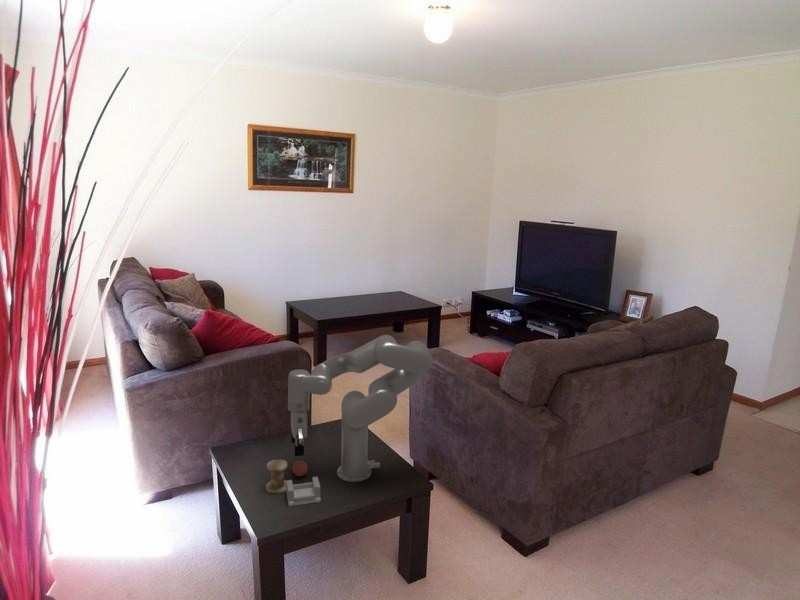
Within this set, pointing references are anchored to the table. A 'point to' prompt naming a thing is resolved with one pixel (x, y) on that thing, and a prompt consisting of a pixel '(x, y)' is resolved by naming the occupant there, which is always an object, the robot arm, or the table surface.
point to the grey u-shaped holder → (303, 492)
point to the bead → (300, 468)
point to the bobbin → (276, 476)
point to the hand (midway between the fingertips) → (297, 448)
